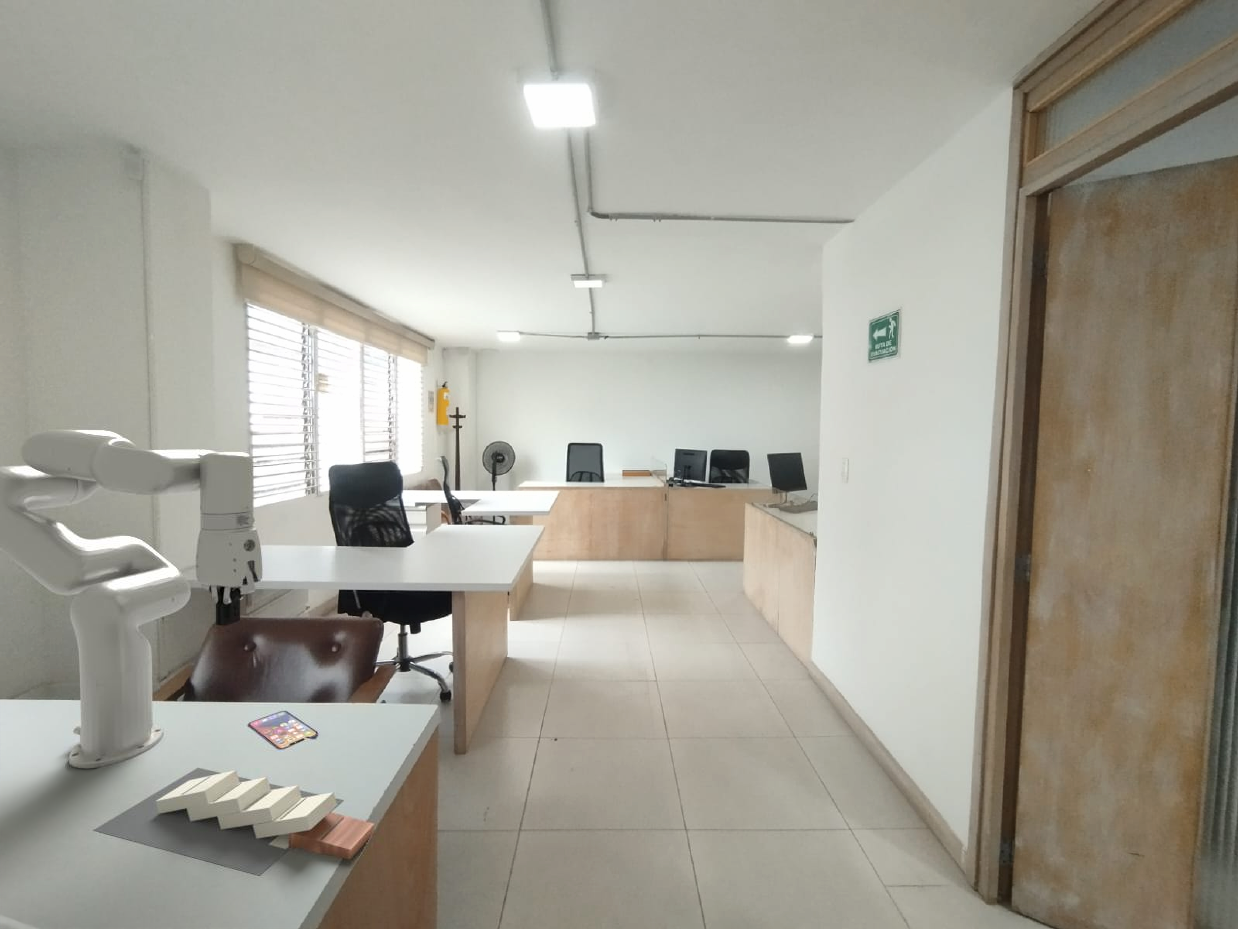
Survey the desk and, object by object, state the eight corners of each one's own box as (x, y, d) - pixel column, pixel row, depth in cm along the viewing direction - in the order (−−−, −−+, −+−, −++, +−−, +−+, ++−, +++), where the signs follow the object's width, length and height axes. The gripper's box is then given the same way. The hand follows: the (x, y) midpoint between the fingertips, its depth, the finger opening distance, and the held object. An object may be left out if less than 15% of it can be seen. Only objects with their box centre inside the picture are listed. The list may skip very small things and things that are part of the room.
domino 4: (252, 825, 75) (306, 815, 73) (282, 801, 80) (333, 792, 78) (256, 839, 75) (310, 830, 73) (286, 814, 80) (337, 805, 78)
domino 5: (289, 832, 74) (350, 849, 72) (316, 808, 79) (374, 823, 77) (288, 846, 74) (349, 863, 72) (315, 821, 79) (373, 837, 77)
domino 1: (155, 800, 79) (204, 790, 77) (189, 780, 84) (235, 770, 82) (159, 814, 79) (208, 804, 77) (192, 792, 84) (239, 782, 82)
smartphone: (285, 713, 110) (320, 738, 102) (245, 728, 104) (279, 755, 96) (285, 709, 110) (320, 733, 102) (245, 723, 104) (279, 750, 96)
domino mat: (93, 833, 76) (93, 830, 76) (197, 770, 90) (197, 767, 90) (260, 879, 69) (259, 875, 69) (343, 803, 84) (343, 800, 84)
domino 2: (186, 808, 78) (236, 798, 76) (219, 787, 83) (266, 776, 81) (190, 821, 78) (240, 811, 76) (222, 799, 83) (270, 789, 81)
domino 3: (217, 816, 77) (269, 807, 74) (248, 793, 82) (298, 785, 79) (220, 829, 77) (273, 821, 74) (252, 806, 82) (301, 798, 79)
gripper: (280, 521, 94) (280, 620, 95) (215, 516, 97) (215, 612, 98) (241, 527, 86) (242, 635, 87) (172, 522, 90) (173, 625, 91)
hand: (228, 623), depth 93 cm, fingers closed
